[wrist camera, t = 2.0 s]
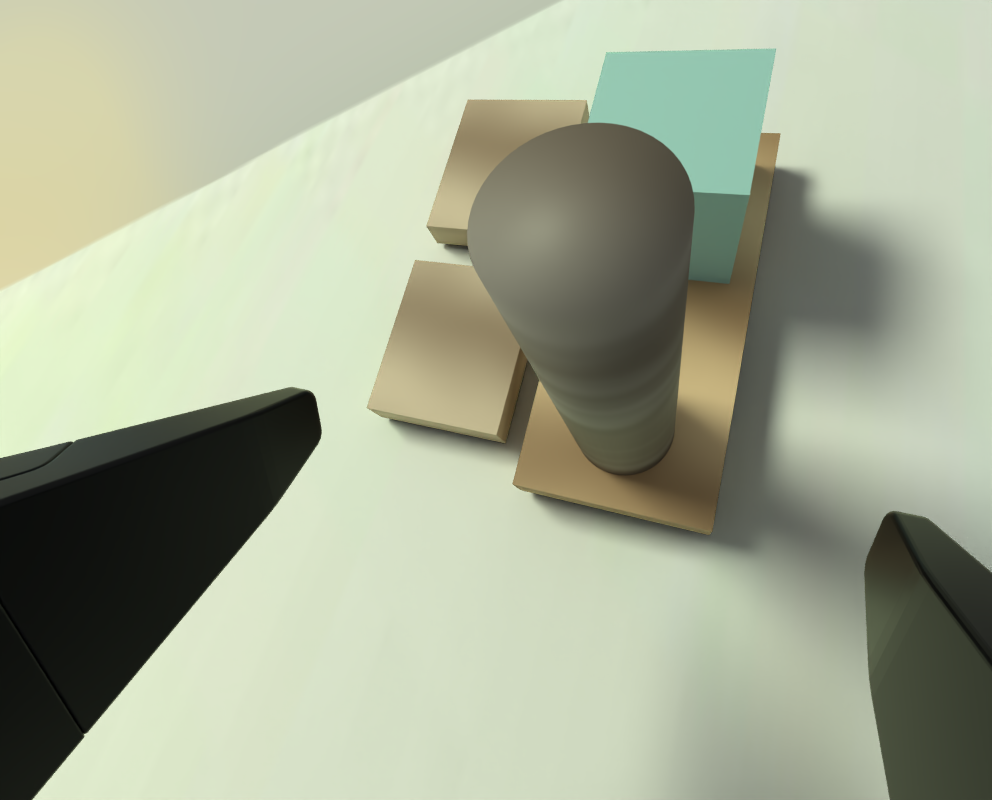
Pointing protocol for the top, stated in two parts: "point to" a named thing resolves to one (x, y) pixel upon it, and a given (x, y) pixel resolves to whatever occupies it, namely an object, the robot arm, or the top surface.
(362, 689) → the top surface
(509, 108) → the beige rectangular block
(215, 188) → the top surface
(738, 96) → the cube
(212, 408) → the robot arm
